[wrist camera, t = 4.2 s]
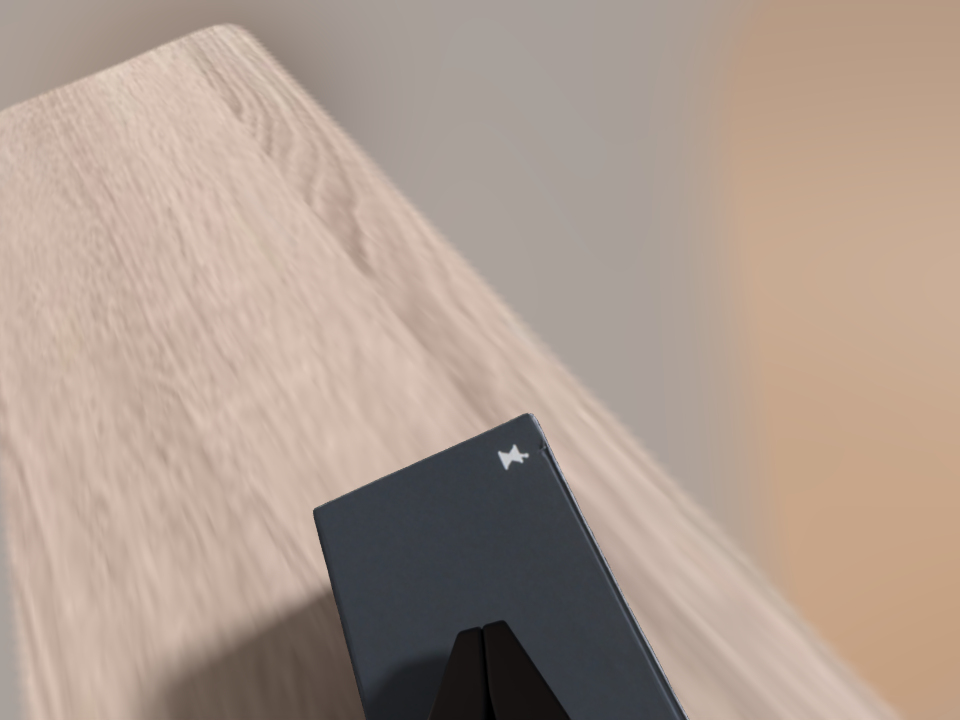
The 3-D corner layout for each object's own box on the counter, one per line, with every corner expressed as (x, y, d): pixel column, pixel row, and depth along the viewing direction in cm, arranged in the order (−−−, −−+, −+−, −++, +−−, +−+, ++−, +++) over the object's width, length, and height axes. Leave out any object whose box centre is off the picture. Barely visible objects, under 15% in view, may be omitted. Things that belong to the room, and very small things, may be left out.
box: (408, 545, 20) (304, 502, 10) (531, 489, 21) (538, 401, 11) (482, 766, 17) (424, 1000, 7) (626, 693, 17) (753, 818, 8)
